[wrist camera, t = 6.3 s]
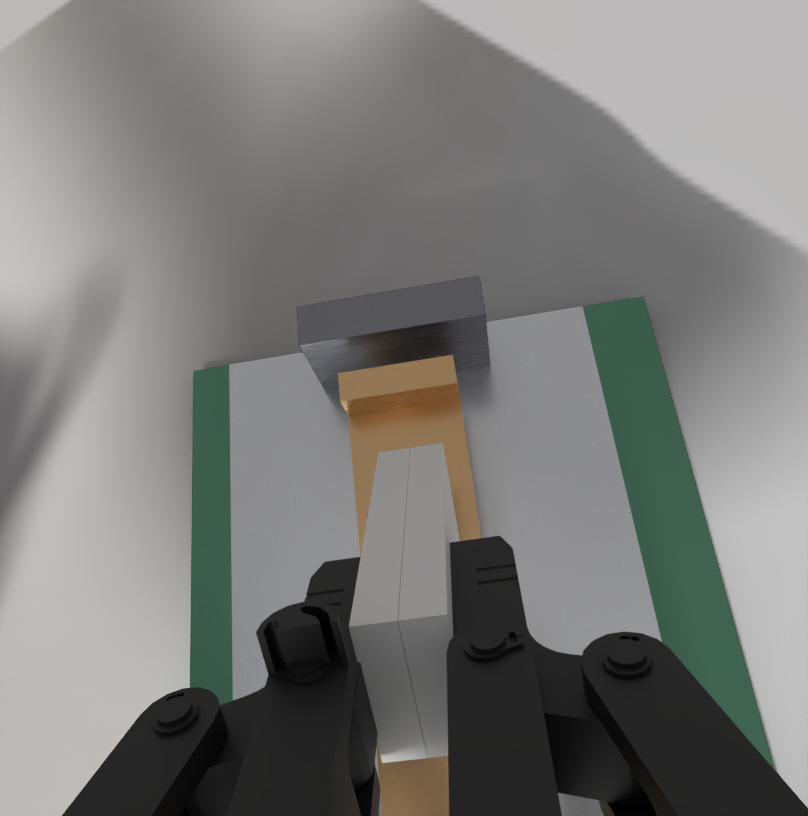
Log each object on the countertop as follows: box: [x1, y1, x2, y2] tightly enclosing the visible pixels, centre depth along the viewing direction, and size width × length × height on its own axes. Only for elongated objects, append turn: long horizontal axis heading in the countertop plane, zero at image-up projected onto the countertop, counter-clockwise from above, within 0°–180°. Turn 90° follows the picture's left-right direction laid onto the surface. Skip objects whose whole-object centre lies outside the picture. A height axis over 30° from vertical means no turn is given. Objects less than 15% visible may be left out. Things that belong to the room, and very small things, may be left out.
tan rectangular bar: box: [338, 355, 481, 816], centre depth 18 cm, size 14×3×2 cm, turn 6°
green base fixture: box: [190, 276, 775, 816], centre depth 21 cm, size 22×17×8 cm
